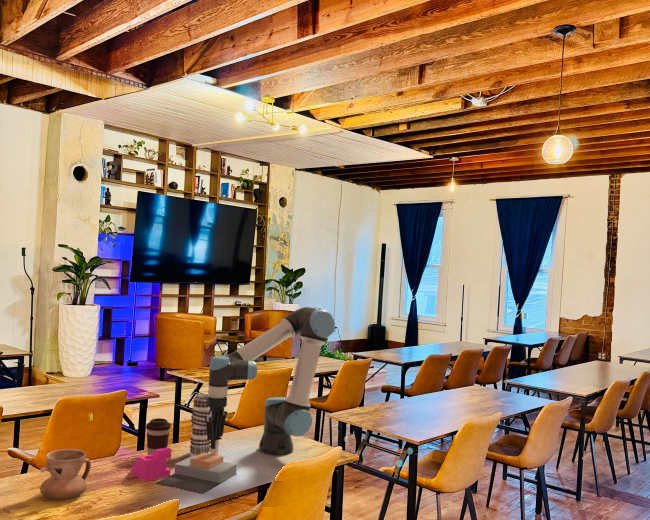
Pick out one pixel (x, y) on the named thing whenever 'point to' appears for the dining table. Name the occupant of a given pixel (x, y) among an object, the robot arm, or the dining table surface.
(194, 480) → the mat
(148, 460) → the bracket
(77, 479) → the ceramic jug
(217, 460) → the coaster
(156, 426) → the coffee cup
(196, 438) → the decorative candle
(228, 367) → the robot arm
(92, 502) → the dining table surface
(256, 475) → the dining table surface
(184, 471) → the board
